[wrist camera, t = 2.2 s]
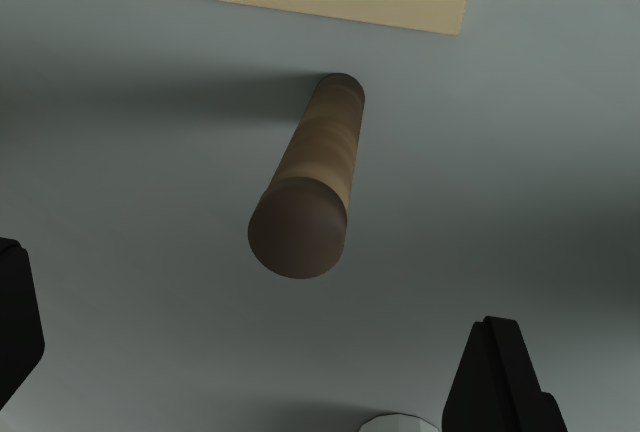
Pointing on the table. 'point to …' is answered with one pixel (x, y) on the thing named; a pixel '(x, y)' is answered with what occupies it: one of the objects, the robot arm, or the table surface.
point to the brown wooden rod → (311, 185)
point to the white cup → (397, 424)
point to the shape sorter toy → (380, 11)
